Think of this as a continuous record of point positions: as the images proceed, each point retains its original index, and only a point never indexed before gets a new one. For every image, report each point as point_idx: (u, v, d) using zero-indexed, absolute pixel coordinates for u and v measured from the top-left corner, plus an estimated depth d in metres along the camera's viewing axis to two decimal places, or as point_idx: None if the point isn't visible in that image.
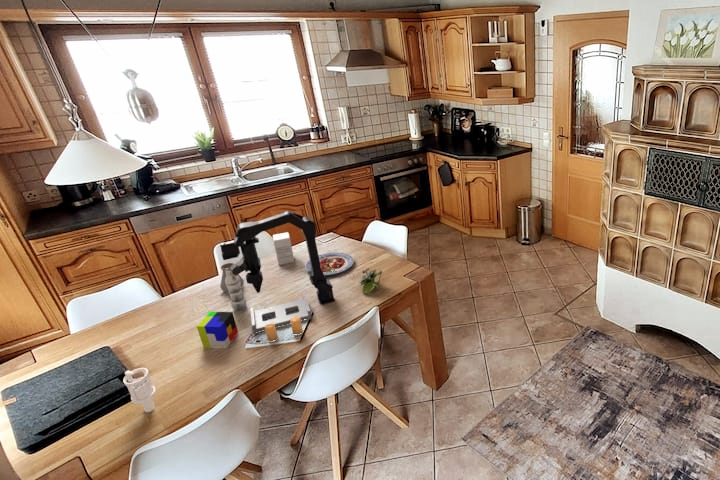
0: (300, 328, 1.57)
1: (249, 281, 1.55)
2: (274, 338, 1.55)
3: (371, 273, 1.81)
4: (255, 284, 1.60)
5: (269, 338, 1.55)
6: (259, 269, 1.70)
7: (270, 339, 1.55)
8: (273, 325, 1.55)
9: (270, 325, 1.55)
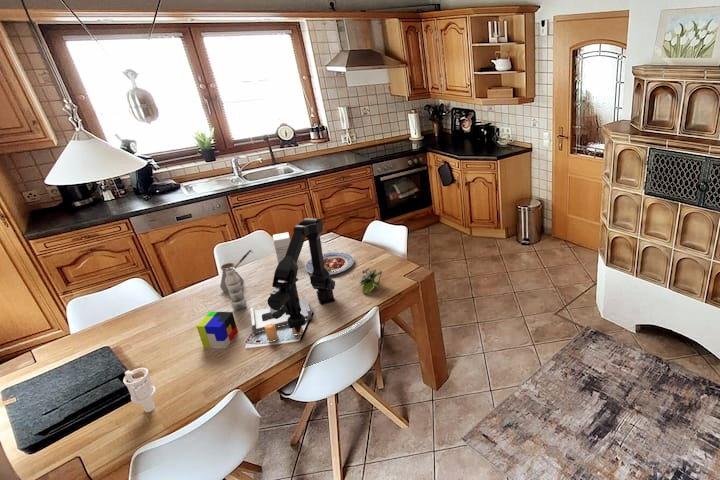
0: None
1: (291, 326, 1.47)
2: (274, 338, 1.55)
3: (371, 273, 1.81)
4: None
5: (269, 338, 1.55)
6: (299, 312, 1.59)
7: (270, 339, 1.55)
8: (273, 325, 1.55)
9: (270, 325, 1.55)
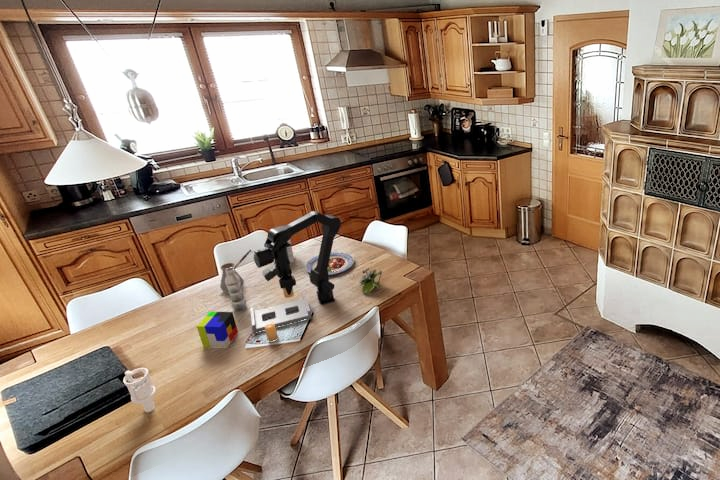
0: None
1: (283, 286, 1.55)
2: (274, 338, 1.55)
3: (371, 273, 1.81)
4: (287, 286, 1.62)
5: (269, 338, 1.55)
6: None
7: (270, 339, 1.55)
8: (273, 325, 1.55)
9: (270, 325, 1.55)
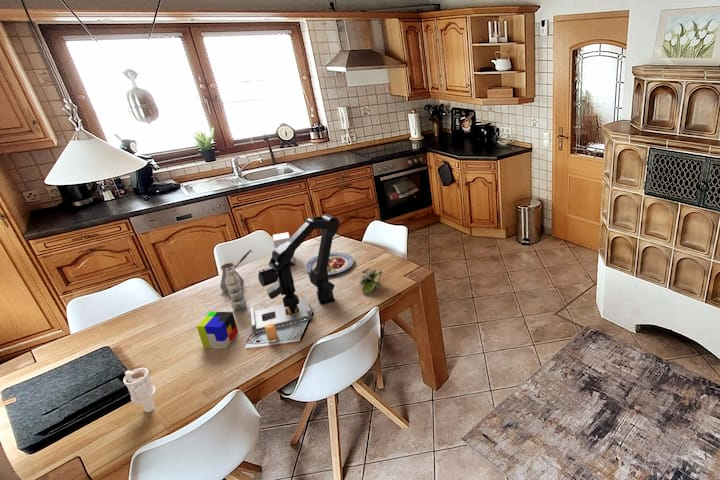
0: (295, 310, 1.70)
1: (286, 305, 1.59)
2: (274, 338, 1.55)
3: (371, 273, 1.81)
4: (290, 306, 1.65)
5: (269, 338, 1.55)
6: (293, 292, 1.73)
7: (270, 339, 1.55)
8: (273, 325, 1.55)
9: (270, 325, 1.55)
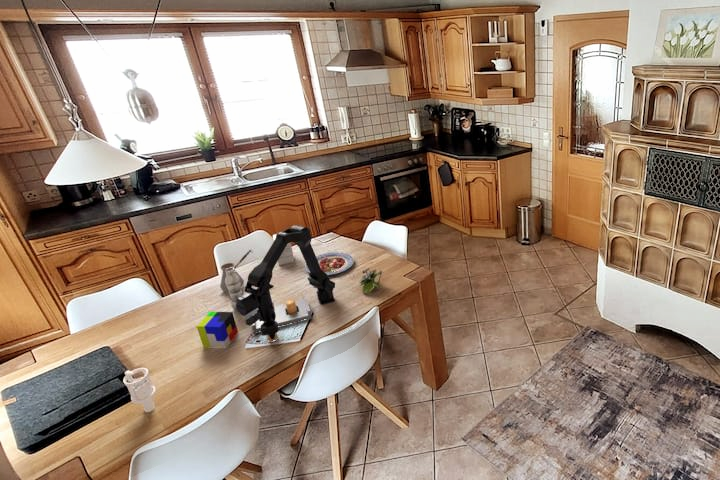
0: (295, 310, 1.70)
1: (264, 333, 1.45)
2: (274, 338, 1.55)
3: (371, 273, 1.81)
4: None
5: (269, 338, 1.55)
6: (274, 319, 1.57)
7: (270, 339, 1.55)
8: None
9: None
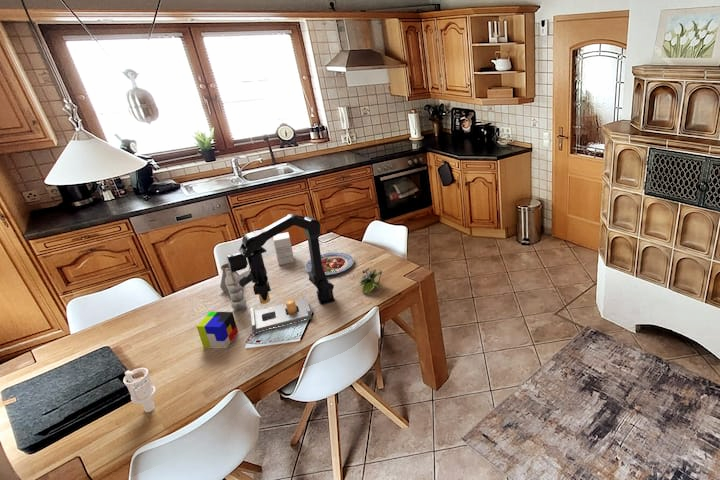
0: (295, 310, 1.70)
1: (257, 292, 1.53)
2: None
3: (371, 273, 1.81)
4: (262, 292, 1.60)
5: (261, 299, 1.63)
6: None
7: (262, 300, 1.63)
8: None
9: None
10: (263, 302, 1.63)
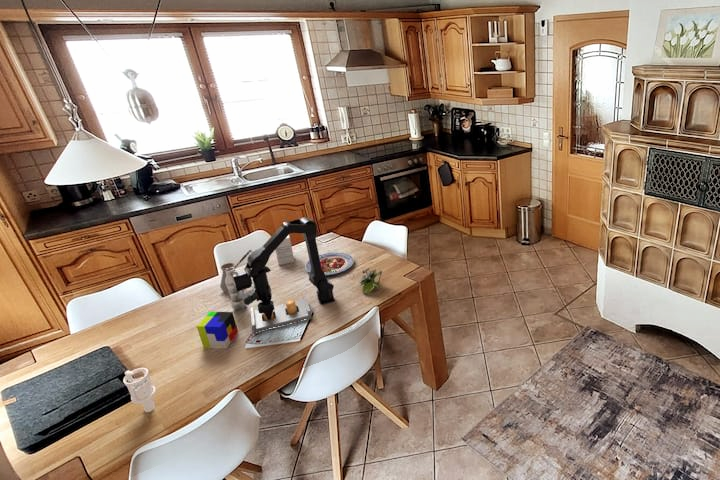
0: (295, 310, 1.70)
1: (261, 311, 1.57)
2: None
3: (371, 273, 1.81)
4: (266, 312, 1.63)
5: (266, 319, 1.67)
6: (270, 298, 1.70)
7: None
8: None
9: None
10: None
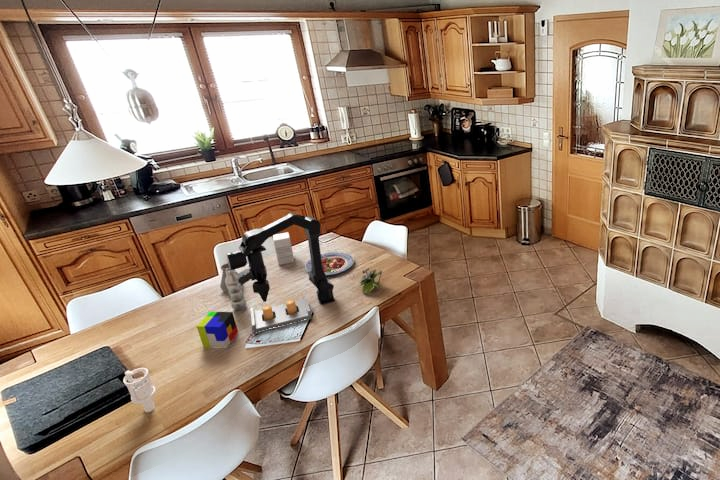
0: (295, 310, 1.70)
1: (256, 290, 1.53)
2: None
3: (371, 273, 1.81)
4: (261, 293, 1.58)
5: (266, 319, 1.67)
6: (265, 277, 1.68)
7: None
8: (270, 307, 1.68)
9: (267, 307, 1.68)
10: None
